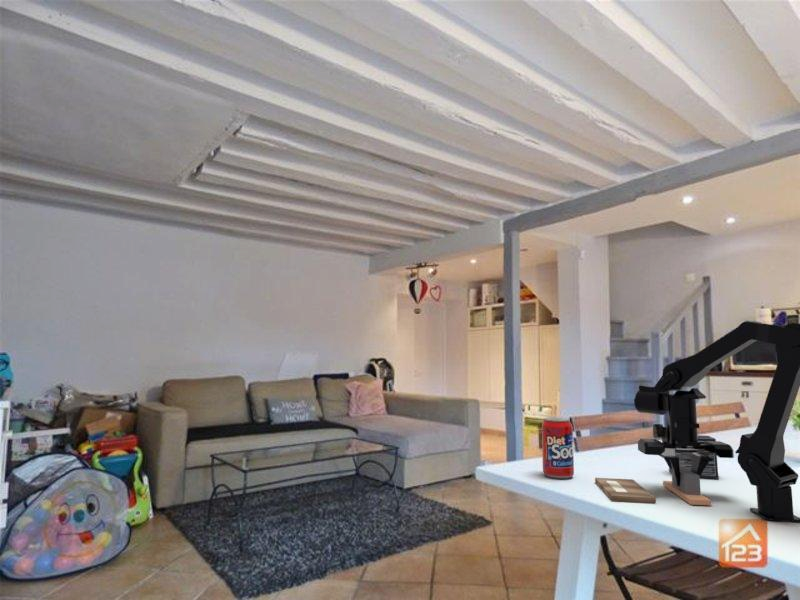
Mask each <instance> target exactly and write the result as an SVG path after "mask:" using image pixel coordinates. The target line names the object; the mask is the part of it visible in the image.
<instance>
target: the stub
mask: <svg viewBox="0 0 800 600" xmlns="http://www.w3.org/2000/svg"><path fill="white" fill-rule="evenodd" d="M662 484H663V486H664V487H665V488H667V489H668V490H669V491H671V492H673V493H674V494H675V495H676V496H678V497H680V498H681V500H684V501H685V502H686V503H688V504H689V505H691V506H692V505H693V506H699V505H700V506H712V500H711V499H709V498H708V497H706V496H705V495H703V494H701V478H700V476H699V475H697V474H696V473H694V472H692V471H690V470H688V469H687V468H682V467H680V486H679V487H678V486H676V484H675V481H674V479H673V476H672V475H671V480H662Z"/></svg>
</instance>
